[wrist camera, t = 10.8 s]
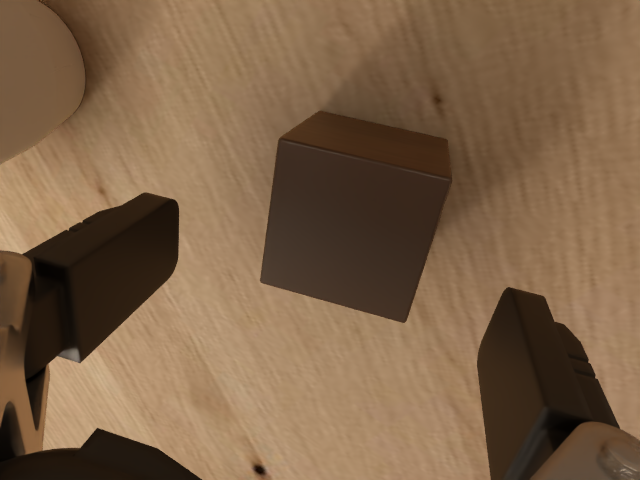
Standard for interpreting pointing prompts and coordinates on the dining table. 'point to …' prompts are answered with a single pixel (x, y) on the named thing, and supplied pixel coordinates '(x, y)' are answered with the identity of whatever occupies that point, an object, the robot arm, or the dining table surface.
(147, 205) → the robot arm
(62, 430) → the dining table surface
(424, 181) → the walnut block
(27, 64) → the cup
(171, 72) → the dining table surface
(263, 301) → the dining table surface
